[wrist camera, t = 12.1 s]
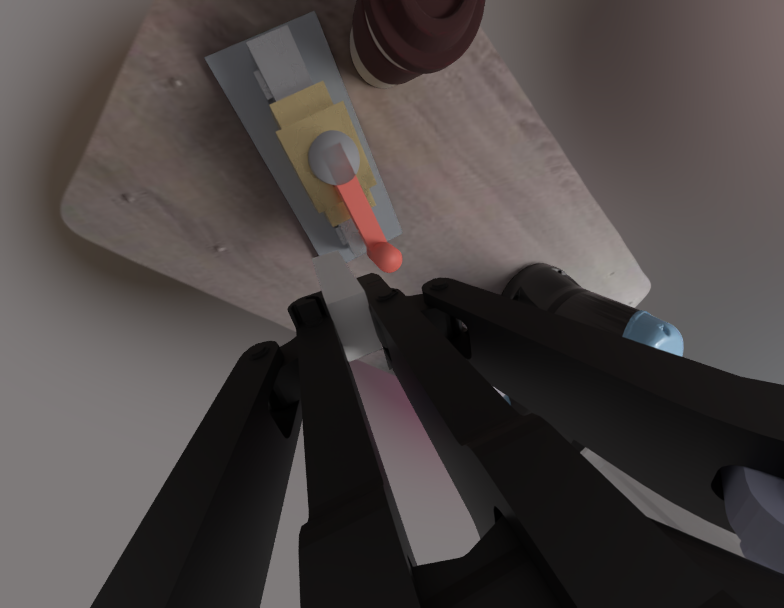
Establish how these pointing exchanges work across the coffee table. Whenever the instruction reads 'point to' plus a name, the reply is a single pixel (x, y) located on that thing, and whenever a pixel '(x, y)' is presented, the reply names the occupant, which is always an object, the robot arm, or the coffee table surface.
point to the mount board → (257, 119)
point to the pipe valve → (307, 125)
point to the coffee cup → (410, 37)
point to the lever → (351, 193)
